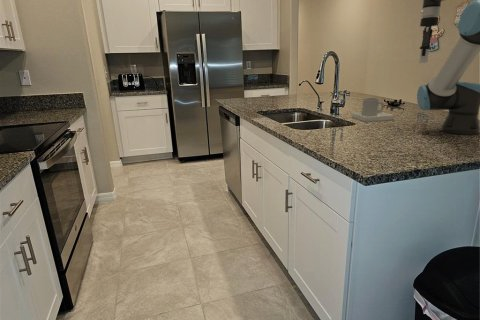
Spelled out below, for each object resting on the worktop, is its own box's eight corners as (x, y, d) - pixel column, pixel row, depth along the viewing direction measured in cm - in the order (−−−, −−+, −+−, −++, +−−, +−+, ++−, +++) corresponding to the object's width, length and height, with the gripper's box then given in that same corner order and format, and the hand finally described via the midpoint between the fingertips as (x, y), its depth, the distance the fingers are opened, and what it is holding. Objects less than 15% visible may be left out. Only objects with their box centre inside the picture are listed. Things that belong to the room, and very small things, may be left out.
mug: (364, 119, 182) (366, 100, 179) (359, 116, 190) (361, 98, 187) (385, 118, 182) (387, 99, 178) (379, 116, 190) (381, 97, 187)
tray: (376, 115, 195) (377, 111, 194) (393, 120, 181) (394, 115, 180) (351, 117, 192) (351, 112, 191) (366, 122, 177) (366, 117, 177)
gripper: (422, 20, 165) (417, 62, 172) (419, 15, 145) (412, 63, 152) (439, 18, 161) (433, 61, 168) (438, 14, 141) (430, 63, 148)
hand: (423, 62), depth 160 cm, fingers open, 13 cm apart
